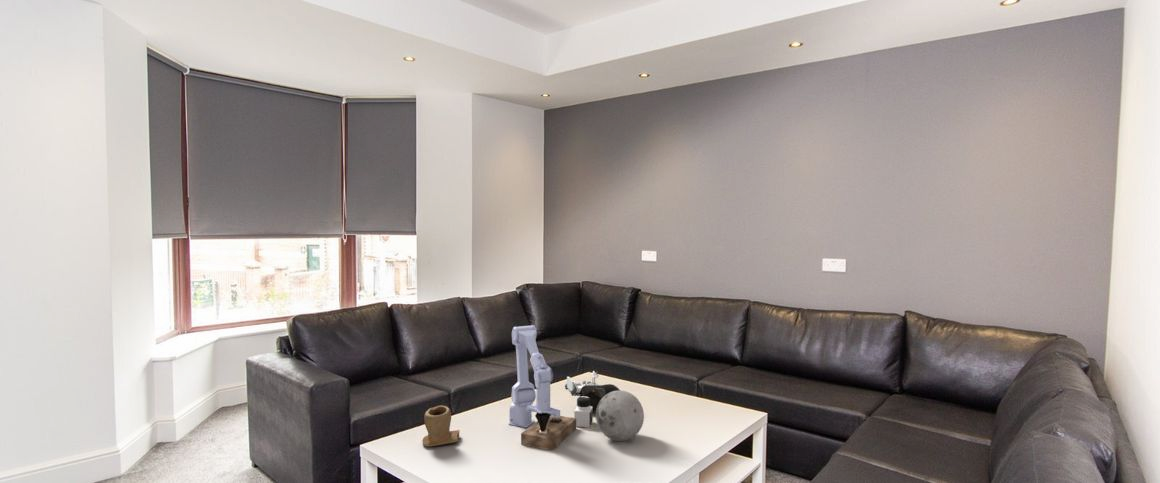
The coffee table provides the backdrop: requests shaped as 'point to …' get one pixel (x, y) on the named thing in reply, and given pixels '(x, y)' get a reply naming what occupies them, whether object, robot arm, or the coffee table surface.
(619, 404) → the moon model
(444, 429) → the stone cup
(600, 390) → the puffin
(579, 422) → the medicine bottle
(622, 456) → the coffee table surface
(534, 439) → the socket block
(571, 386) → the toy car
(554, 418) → the peg far
